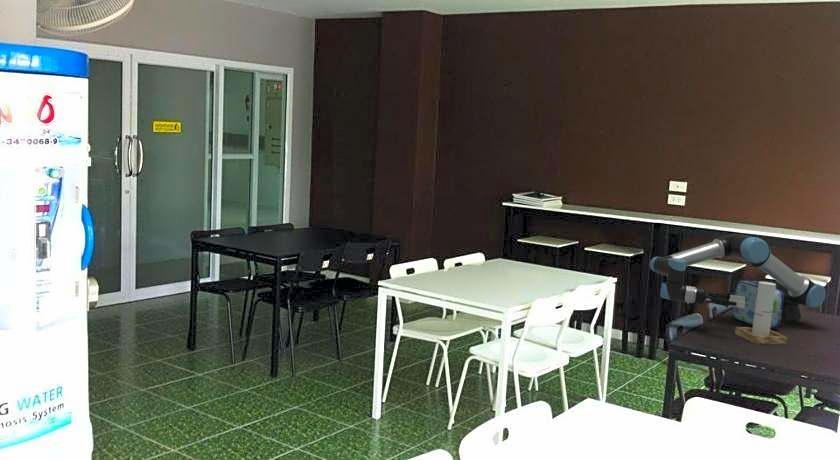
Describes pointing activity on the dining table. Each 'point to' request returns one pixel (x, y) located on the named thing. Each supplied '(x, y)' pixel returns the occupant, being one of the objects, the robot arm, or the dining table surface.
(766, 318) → the tall white box
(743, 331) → the oak tray
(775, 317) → the lunch box
